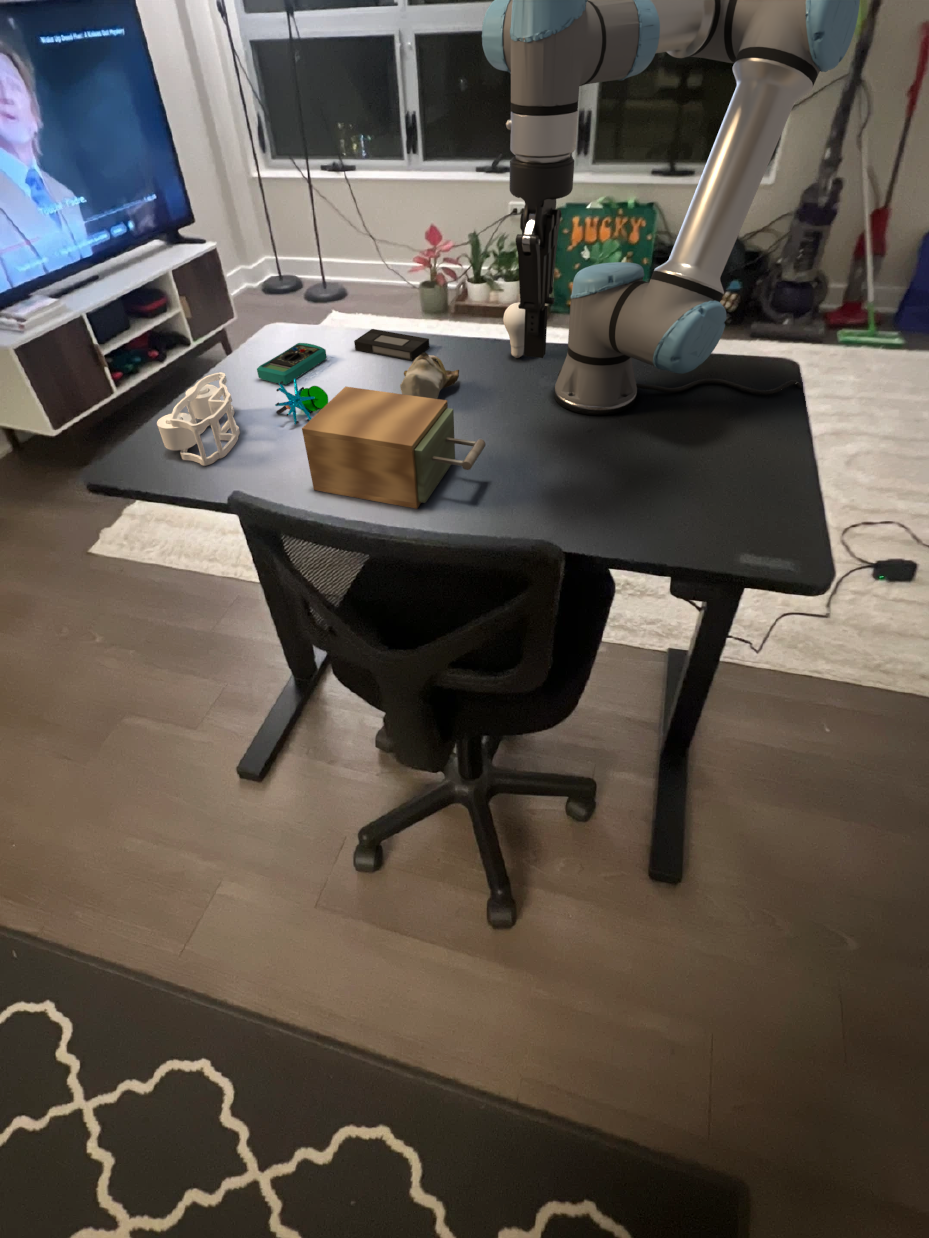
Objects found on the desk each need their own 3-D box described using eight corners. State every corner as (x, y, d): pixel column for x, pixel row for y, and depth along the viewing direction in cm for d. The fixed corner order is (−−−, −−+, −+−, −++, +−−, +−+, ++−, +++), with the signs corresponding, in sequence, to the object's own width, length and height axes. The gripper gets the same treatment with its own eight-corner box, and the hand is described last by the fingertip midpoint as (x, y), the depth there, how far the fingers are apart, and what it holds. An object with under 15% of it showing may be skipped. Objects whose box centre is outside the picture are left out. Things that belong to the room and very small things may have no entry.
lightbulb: (497, 354, 150) (498, 301, 143) (523, 349, 152) (525, 296, 144) (510, 365, 146) (511, 310, 139) (536, 360, 148) (539, 305, 140)
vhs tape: (412, 361, 149) (411, 351, 147) (354, 350, 154) (353, 341, 152) (429, 348, 154) (428, 338, 152) (373, 337, 158) (372, 328, 157)
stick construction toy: (291, 421, 126) (274, 378, 124) (269, 435, 130) (252, 394, 129) (339, 413, 135) (323, 373, 133) (317, 427, 139) (301, 388, 138)
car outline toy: (205, 408, 135) (194, 371, 130) (260, 411, 134) (251, 373, 129) (156, 463, 121) (142, 423, 116) (218, 466, 119) (206, 426, 114)
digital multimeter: (329, 359, 151) (327, 345, 149) (286, 387, 141) (283, 372, 139) (301, 353, 153) (299, 339, 151) (257, 380, 144) (254, 366, 142)
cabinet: (450, 461, 119) (447, 400, 112) (417, 509, 109) (411, 445, 101) (353, 445, 124) (345, 386, 116) (313, 490, 113) (301, 428, 106)
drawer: (491, 464, 116) (492, 414, 110) (464, 510, 107) (463, 457, 101) (364, 444, 122) (357, 395, 116) (327, 485, 113) (318, 434, 106)
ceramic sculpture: (385, 364, 127) (408, 336, 138) (388, 410, 132) (410, 380, 144) (443, 368, 125) (462, 340, 136) (444, 415, 130) (462, 385, 142)
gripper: (526, 143, 88) (521, 334, 104) (494, 166, 79) (494, 371, 95) (586, 145, 86) (571, 339, 102) (560, 169, 77) (549, 378, 93)
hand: (534, 354), depth 99 cm, fingers closed
